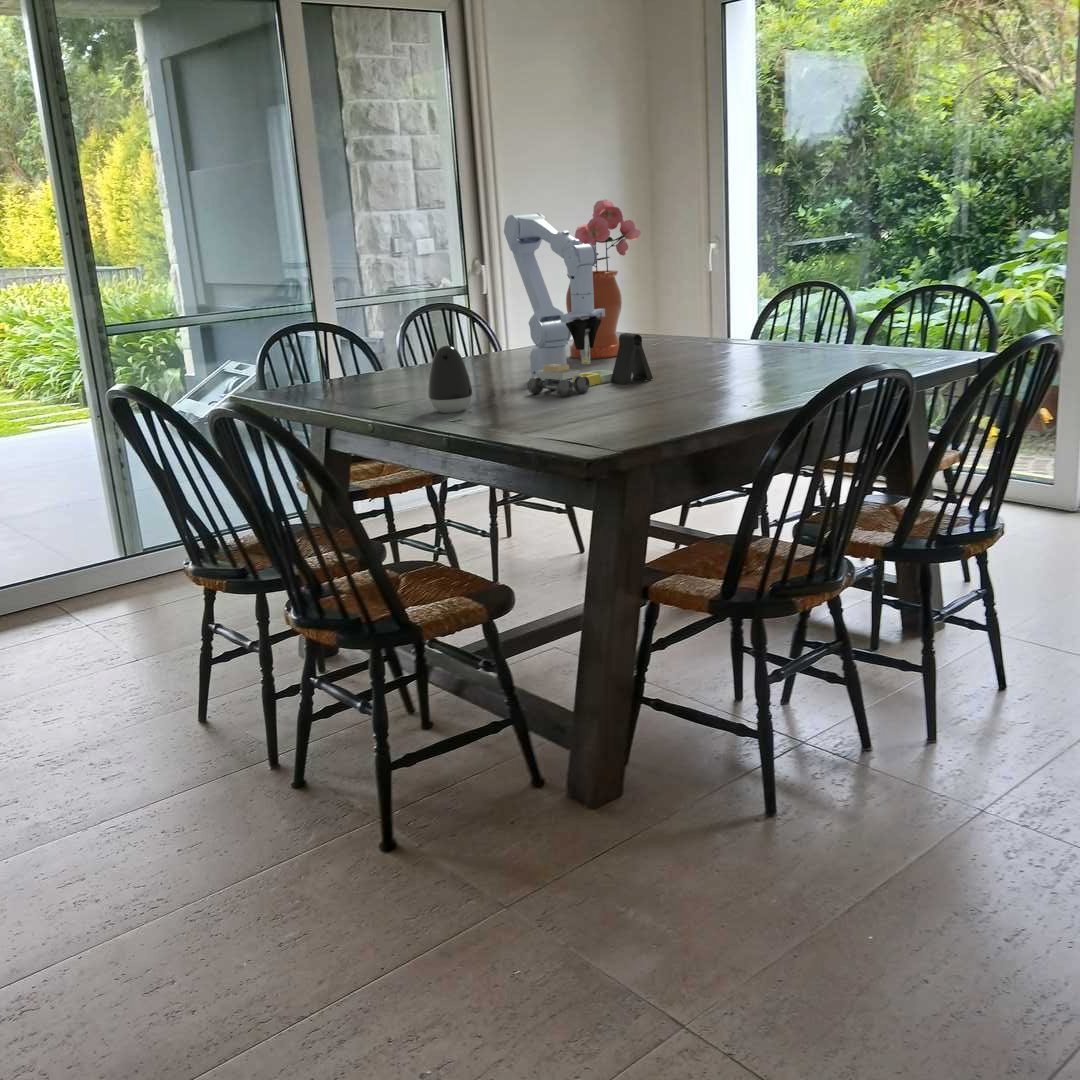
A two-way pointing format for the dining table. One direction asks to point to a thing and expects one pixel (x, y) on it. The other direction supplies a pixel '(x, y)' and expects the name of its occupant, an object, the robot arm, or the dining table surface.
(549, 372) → the toy rover
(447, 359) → the egg shaped device
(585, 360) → the stop pin
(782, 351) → the dining table surface
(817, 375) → the dining table surface
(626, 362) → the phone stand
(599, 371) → the tray
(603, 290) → the potted flower
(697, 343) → the dining table surface
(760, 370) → the dining table surface
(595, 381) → the pin socket
